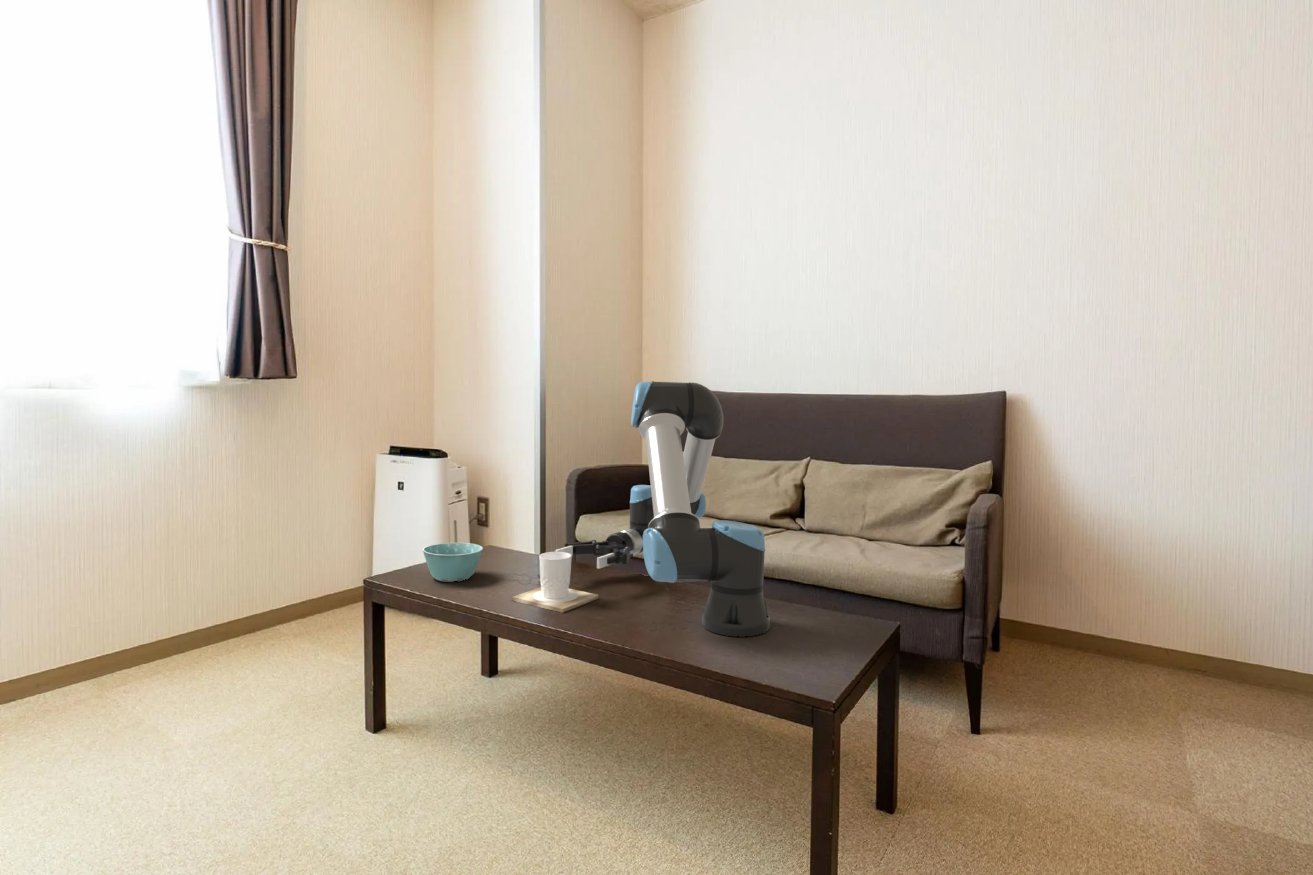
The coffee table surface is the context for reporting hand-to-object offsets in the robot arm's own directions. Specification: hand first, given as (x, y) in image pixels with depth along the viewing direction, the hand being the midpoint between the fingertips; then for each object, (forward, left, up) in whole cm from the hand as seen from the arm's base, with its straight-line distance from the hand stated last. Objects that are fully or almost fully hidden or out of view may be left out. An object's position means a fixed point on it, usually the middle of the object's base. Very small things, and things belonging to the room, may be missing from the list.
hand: (576, 559), depth 183 cm
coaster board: (-4, +7, -8) cm, 12 cm away
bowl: (+27, +23, -9) cm, 37 cm away
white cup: (-3, +8, -8) cm, 11 cm away
